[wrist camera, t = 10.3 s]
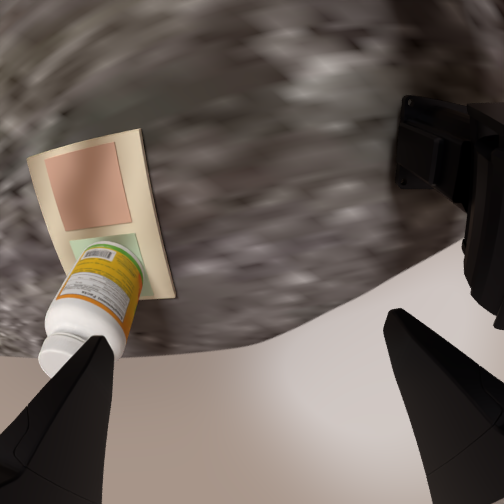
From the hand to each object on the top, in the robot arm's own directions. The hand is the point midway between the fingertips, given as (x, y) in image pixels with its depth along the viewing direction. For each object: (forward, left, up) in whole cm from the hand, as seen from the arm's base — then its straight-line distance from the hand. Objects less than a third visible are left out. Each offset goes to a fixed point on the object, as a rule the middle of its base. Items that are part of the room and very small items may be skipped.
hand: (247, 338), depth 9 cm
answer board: (+10, +2, -12) cm, 16 cm away
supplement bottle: (+10, +5, -12) cm, 16 cm away
